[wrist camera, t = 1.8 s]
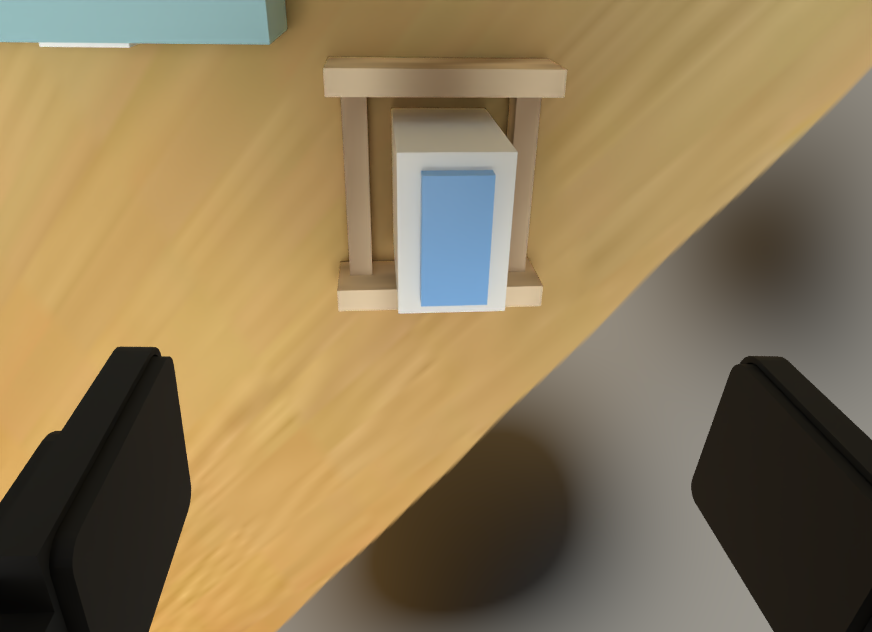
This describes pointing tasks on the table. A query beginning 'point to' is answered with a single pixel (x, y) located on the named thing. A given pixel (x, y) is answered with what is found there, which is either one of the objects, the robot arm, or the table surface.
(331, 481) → the table surface
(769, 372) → the robot arm
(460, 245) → the white box blue label
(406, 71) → the wooden frame
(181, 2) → the block
